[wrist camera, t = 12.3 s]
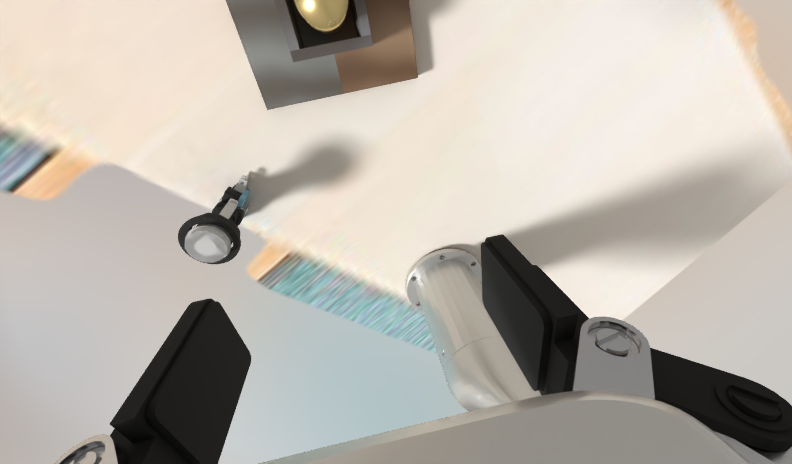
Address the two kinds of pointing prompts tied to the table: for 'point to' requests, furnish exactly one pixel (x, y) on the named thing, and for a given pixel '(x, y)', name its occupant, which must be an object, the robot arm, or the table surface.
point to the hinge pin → (323, 14)
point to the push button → (217, 228)
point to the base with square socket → (324, 49)
